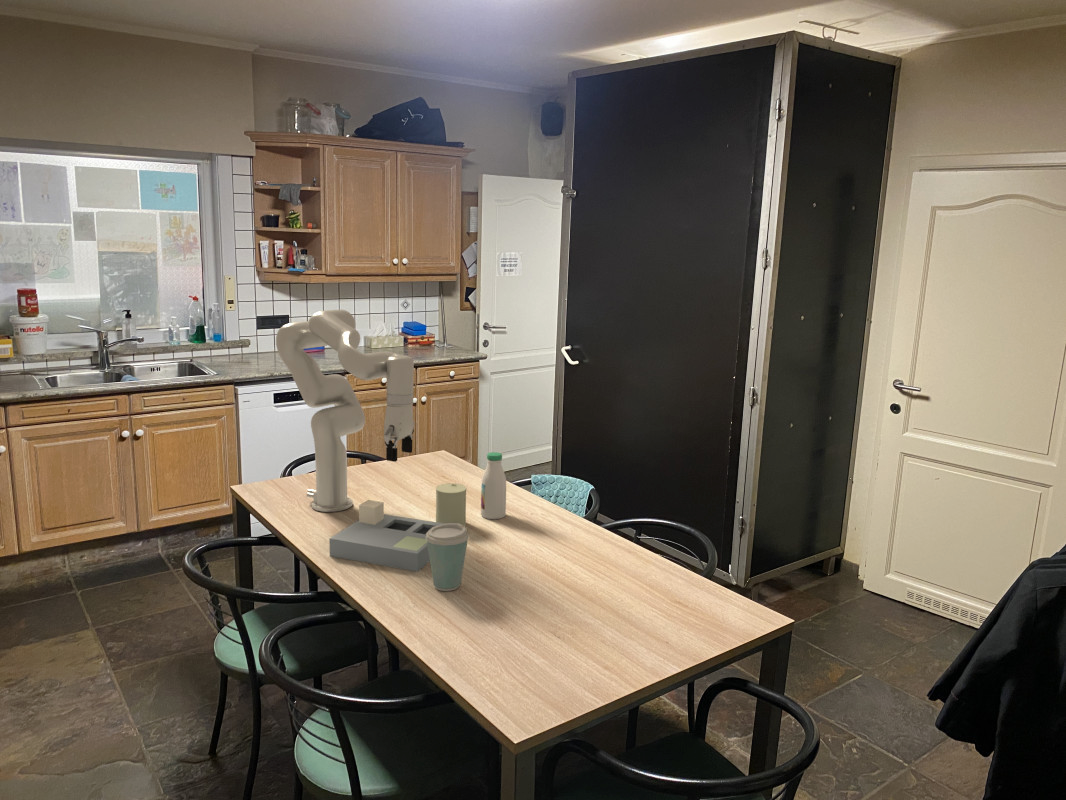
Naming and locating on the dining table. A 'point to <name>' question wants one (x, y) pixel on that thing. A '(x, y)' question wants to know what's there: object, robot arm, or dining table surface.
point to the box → (385, 542)
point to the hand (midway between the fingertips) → (399, 456)
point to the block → (371, 512)
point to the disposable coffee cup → (447, 554)
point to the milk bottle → (493, 488)
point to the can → (451, 503)
